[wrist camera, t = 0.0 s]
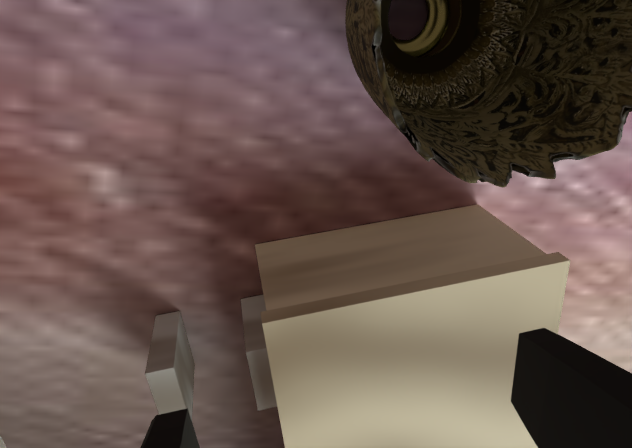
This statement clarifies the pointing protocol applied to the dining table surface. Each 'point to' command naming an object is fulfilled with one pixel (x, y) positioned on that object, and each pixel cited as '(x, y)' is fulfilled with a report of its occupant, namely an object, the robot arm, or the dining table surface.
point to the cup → (500, 81)
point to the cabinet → (386, 333)
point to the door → (2, 443)
